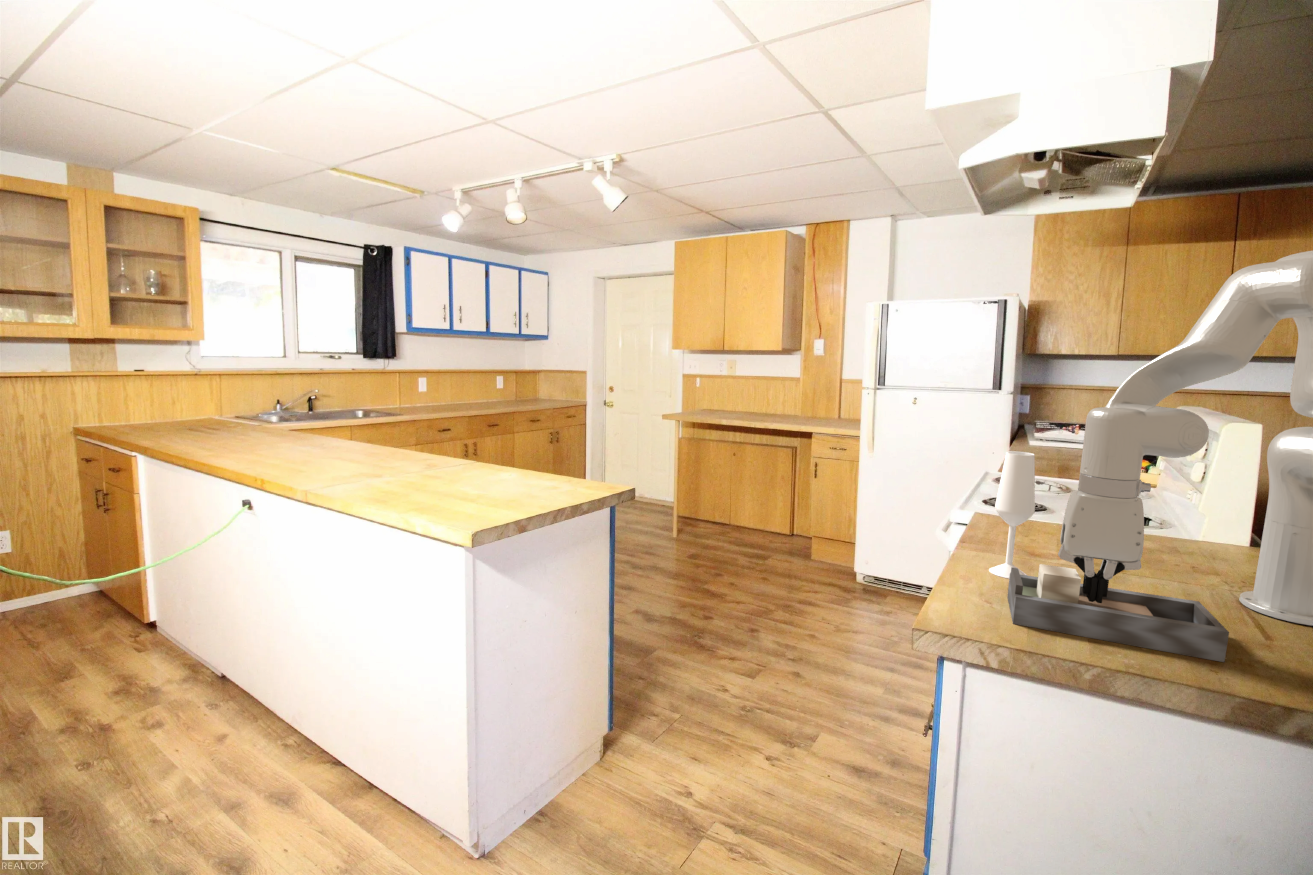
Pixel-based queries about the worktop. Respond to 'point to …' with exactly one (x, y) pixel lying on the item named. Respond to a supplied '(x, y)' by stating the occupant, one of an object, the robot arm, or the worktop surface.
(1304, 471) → the robot arm
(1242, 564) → the worktop surface
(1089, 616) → the tray
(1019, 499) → the champagne flute
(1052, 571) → the block
